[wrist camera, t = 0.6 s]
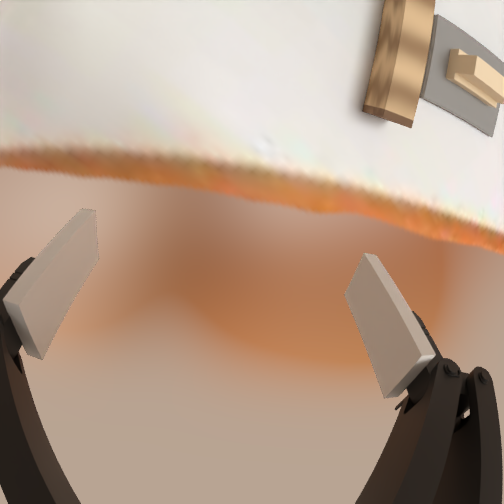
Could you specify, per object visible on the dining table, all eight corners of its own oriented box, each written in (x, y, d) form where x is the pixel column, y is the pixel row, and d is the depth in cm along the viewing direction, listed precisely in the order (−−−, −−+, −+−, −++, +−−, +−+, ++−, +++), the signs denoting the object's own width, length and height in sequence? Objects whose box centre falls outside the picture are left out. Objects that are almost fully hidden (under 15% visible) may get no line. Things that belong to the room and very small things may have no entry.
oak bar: (386, -16, 22) (408, -26, 17) (412, -3, 22) (436, -11, 17) (362, 111, 32) (382, 117, 27) (388, 120, 33) (411, 128, 28)
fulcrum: (434, 15, 23) (464, 10, 17) (502, 64, 25) (531, 69, 19) (419, 97, 31) (450, 103, 25) (488, 135, 33) (516, 148, 27)
